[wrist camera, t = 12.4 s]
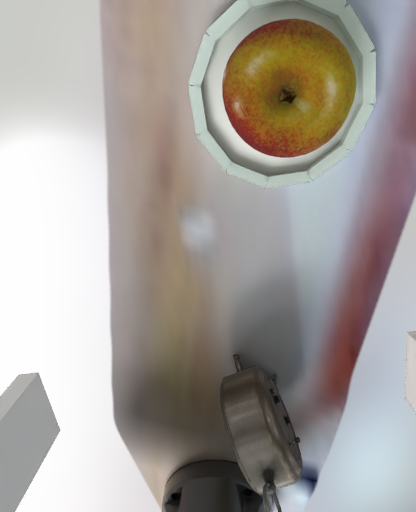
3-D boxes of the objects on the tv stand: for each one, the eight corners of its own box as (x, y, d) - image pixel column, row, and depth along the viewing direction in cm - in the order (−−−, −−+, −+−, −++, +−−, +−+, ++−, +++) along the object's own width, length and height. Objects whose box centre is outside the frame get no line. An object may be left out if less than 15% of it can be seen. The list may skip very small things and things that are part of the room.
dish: (368, 170, 31) (376, 173, 30) (206, 195, 33) (205, 199, 32) (368, -29, 26) (378, -39, 25) (176, 12, 28) (173, 5, 26)
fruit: (203, 119, 30) (195, 119, 23) (256, 8, 27) (266, -35, 19) (298, 172, 31) (320, 187, 24) (359, 71, 28) (406, 52, 21)
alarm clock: (218, 351, 40) (212, 492, 25) (262, 335, 39) (283, 473, 23) (255, 418, 43) (269, 579, 28) (296, 405, 42) (335, 565, 27)
